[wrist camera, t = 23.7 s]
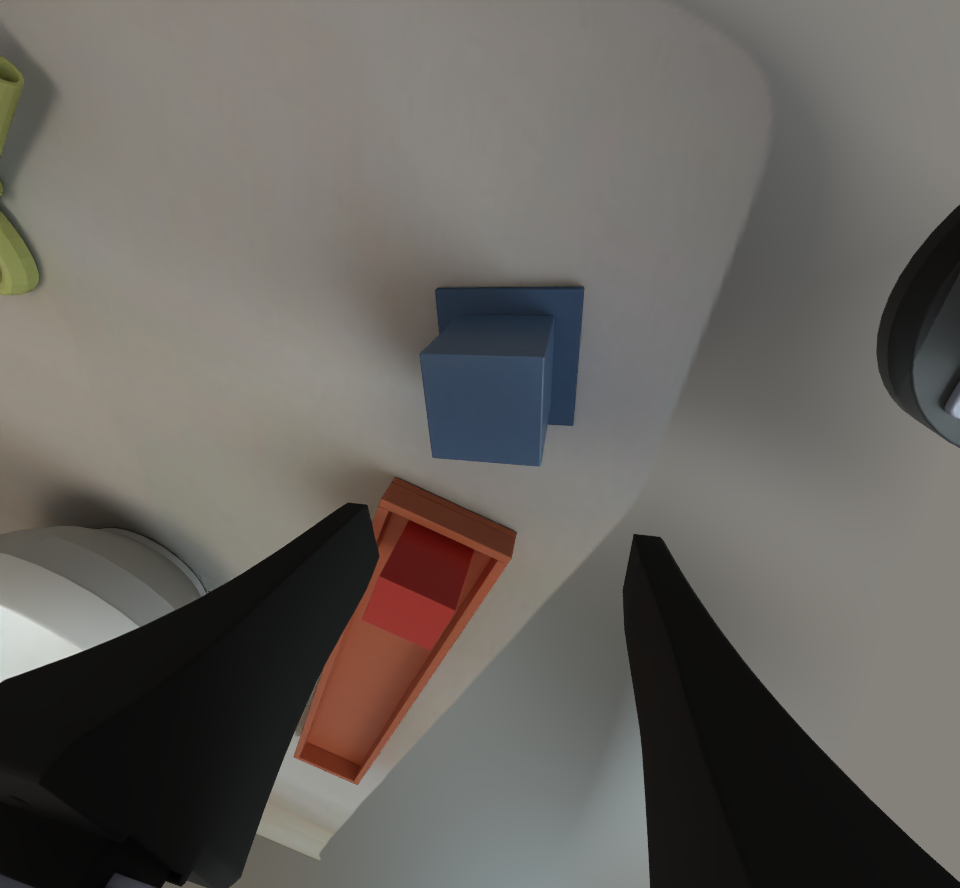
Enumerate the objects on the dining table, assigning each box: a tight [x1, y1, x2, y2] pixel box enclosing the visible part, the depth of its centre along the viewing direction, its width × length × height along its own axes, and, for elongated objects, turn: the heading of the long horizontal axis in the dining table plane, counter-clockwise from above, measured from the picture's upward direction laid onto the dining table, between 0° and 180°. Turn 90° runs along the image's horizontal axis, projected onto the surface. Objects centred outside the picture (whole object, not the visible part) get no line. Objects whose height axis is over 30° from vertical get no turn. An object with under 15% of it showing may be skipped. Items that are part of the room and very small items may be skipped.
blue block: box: [420, 315, 555, 466], centre depth 16 cm, size 4×4×5 cm
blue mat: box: [435, 287, 584, 426], centre depth 18 cm, size 6×6×1 cm
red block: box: [362, 520, 475, 650], centre depth 22 cm, size 4×4×5 cm
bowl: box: [0, 526, 206, 683], centre depth 31 cm, size 19×19×9 cm
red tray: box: [294, 478, 517, 785], centre depth 34 cm, size 41×8×2 cm, turn 158°
